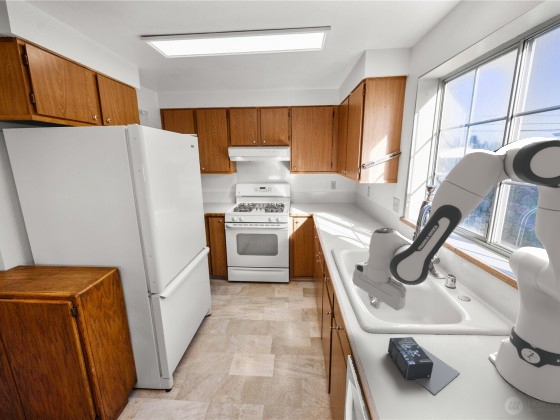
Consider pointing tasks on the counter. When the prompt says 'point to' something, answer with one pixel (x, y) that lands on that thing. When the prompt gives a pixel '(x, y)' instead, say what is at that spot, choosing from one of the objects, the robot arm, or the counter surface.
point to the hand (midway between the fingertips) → (374, 306)
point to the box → (410, 358)
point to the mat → (437, 374)
